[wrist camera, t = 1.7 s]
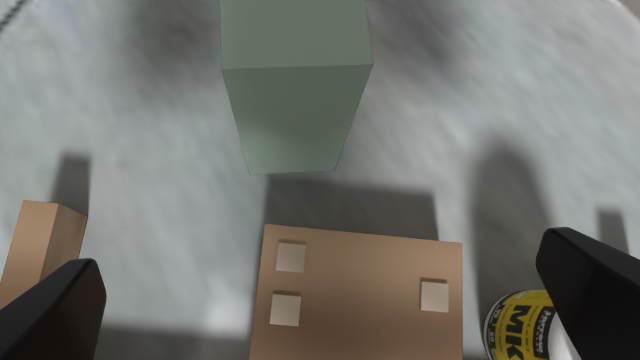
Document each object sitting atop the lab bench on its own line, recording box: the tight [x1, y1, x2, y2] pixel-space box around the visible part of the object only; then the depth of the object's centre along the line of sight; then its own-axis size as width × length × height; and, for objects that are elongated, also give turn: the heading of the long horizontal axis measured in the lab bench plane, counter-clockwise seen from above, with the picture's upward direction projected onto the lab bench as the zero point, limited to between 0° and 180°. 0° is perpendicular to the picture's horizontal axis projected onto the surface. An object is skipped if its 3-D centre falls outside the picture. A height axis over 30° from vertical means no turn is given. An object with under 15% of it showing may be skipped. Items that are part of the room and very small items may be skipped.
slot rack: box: [0, 200, 463, 360], centre depth 20 cm, size 10×30×3 cm, turn 85°
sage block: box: [220, 0, 373, 175], centre depth 19 cm, size 4×4×11 cm
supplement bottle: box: [484, 290, 582, 360], centre depth 18 cm, size 5×5×8 cm
